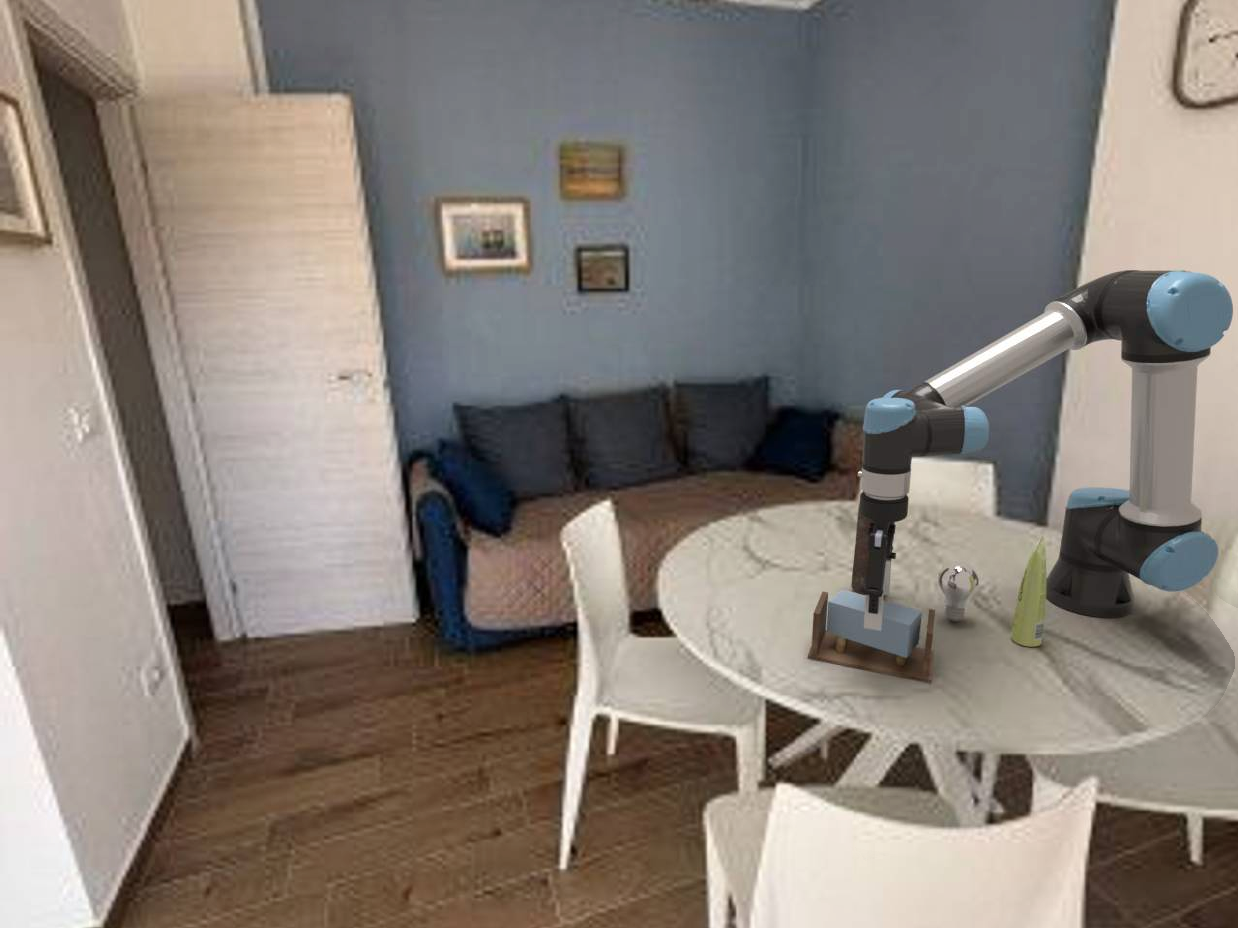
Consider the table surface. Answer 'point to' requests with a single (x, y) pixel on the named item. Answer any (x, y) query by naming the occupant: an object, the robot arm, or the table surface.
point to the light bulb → (957, 587)
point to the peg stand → (869, 650)
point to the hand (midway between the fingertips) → (877, 610)
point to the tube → (1031, 600)
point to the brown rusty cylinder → (861, 554)
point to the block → (893, 637)
